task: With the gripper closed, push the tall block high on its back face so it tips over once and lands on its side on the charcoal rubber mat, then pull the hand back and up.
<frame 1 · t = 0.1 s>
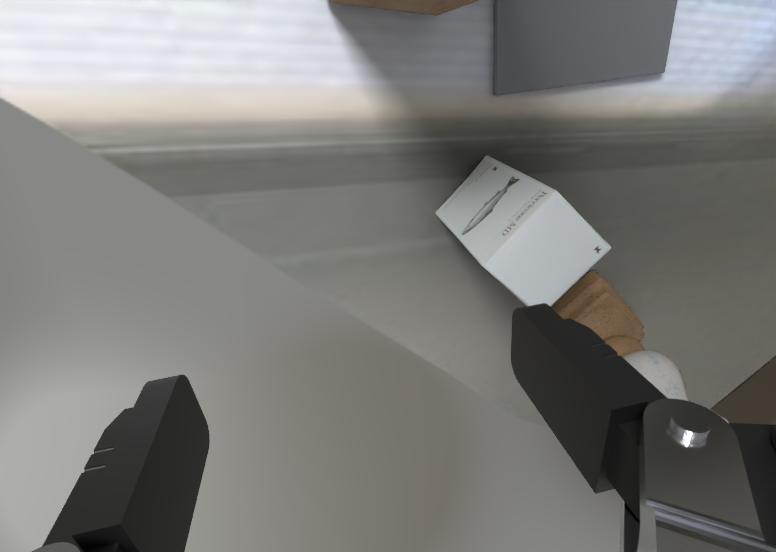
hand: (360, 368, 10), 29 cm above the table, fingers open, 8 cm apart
supplement box: (482, 205, 41), on the table
candle holder: (577, 325, 51), on the table
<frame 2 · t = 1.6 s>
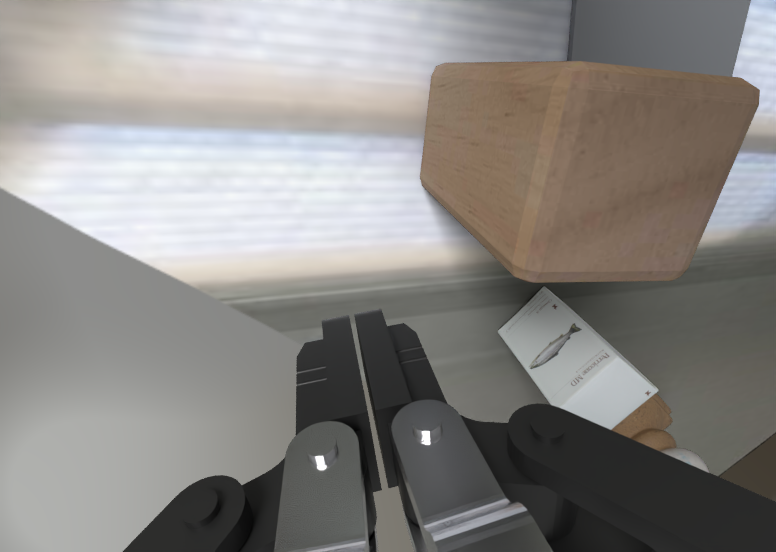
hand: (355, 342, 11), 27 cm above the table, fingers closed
supplement box: (536, 322, 48), on the table
block: (476, 130, 37), on the table
candle holder: (612, 409, 57), on the table
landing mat: (644, 106, 38), on the table
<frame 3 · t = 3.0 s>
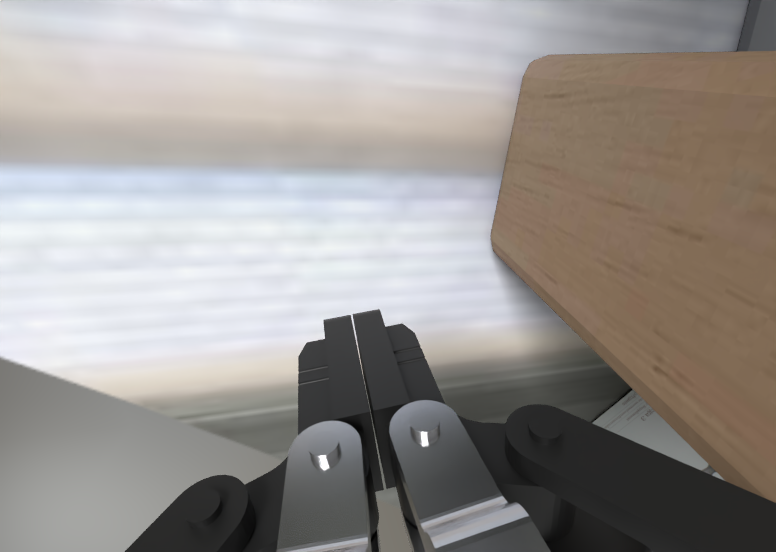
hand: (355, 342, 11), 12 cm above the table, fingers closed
supplement box: (629, 420, 34), on the table
block: (580, 164, 23), on the table
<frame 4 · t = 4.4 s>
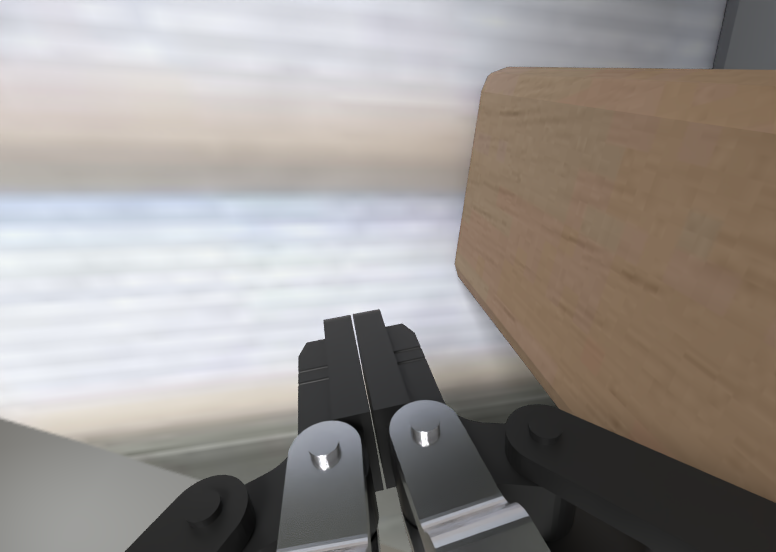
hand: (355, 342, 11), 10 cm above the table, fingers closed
block: (550, 181, 22), on the table
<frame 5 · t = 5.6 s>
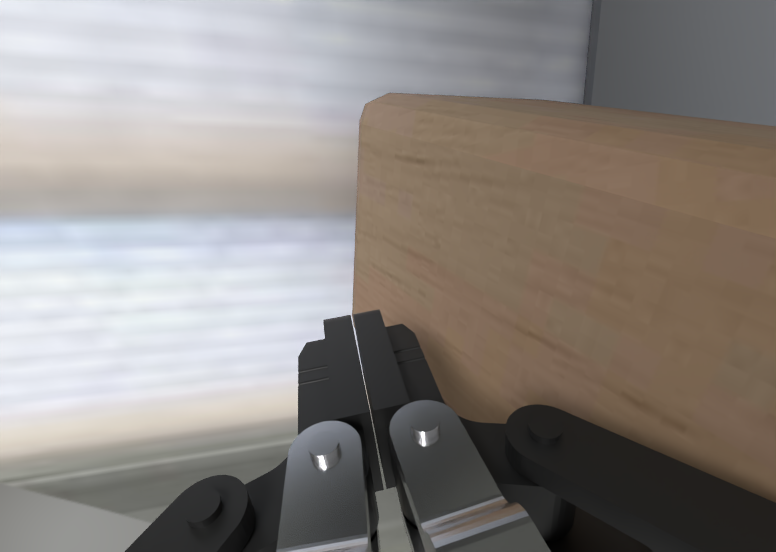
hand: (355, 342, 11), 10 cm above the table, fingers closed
block: (441, 212, 19), point 2 cm above the table
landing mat: (715, 151, 22), on the table
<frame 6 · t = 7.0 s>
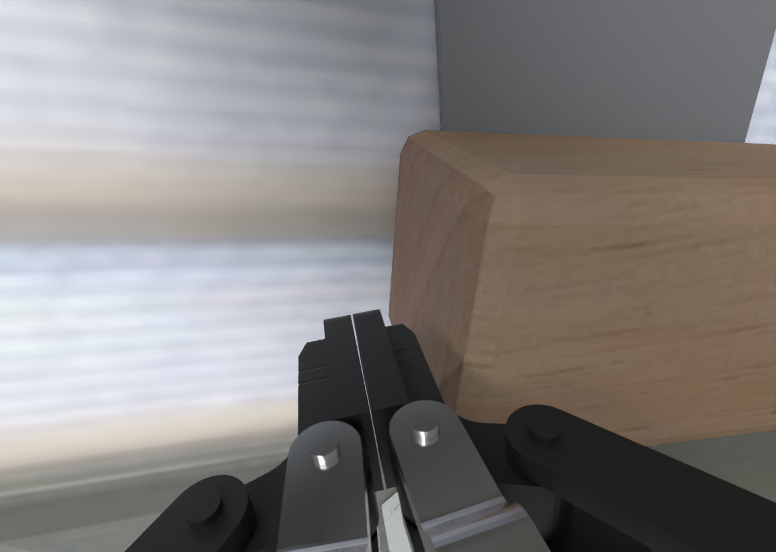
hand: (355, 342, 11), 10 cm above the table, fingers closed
supplement box: (445, 486, 31), on the table
block: (409, 281, 16), point 6 cm above the table, touching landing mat
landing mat: (594, 173, 22), on the table
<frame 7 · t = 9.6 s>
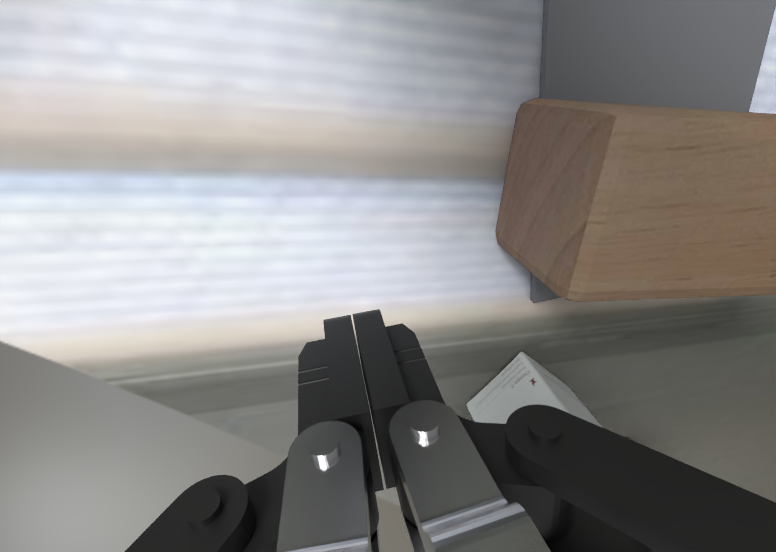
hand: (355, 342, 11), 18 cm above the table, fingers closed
supplement box: (514, 392, 39), on the table
block: (532, 192, 25), point 6 cm above the table, touching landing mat
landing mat: (640, 135, 30), on the table
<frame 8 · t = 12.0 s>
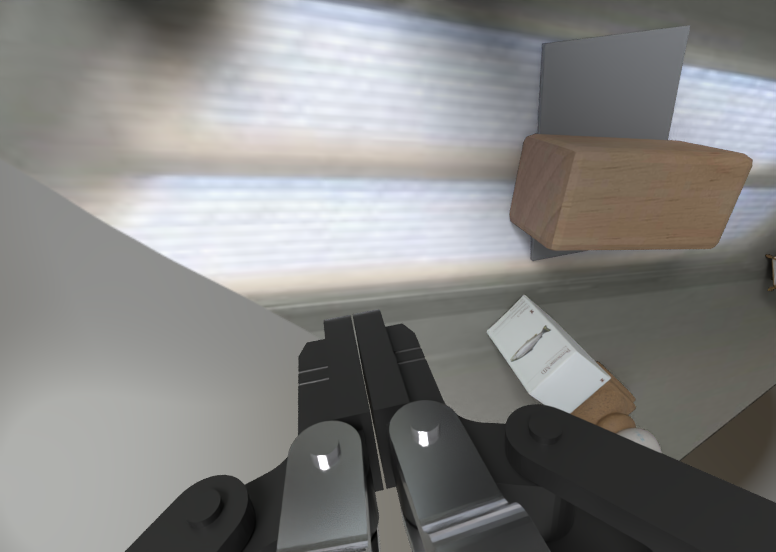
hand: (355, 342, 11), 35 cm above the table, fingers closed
supplement box: (519, 324, 58), on the table
block: (532, 190, 43), point 6 cm above the table, touching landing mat
candle holder: (585, 397, 67), on the table
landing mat: (600, 153, 49), on the table
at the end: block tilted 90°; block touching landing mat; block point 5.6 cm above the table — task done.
